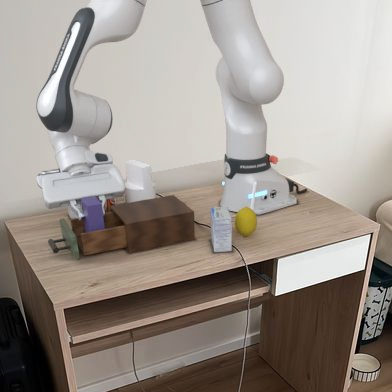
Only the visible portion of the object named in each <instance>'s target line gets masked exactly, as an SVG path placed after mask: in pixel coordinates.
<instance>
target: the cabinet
mask: <svg viewBox="0 0 392 392" xmlns="http://www.w3.org/2000/svg"><path fill="white" fill-rule="evenodd" d="M109 212H114V214H115V215H116V216H117V217H118V218H119V219H120V220H121V221H122V222H123V223H124V225H125V226H126V235H127V244H128V247H124V249H125V250H126V251H127V253H129V254H133V253H138V252H142V251H143V252H144V251H148V250H153V249H157V248H163V247H168V246H171V245H177V244H178V245H179V244H182V243H187V242H192V241H195V240H196V231H195V230H196V229H195V227H196V226H195V211H194V210H193V209H192V208H190V206H188V205H187V204H186V203H184V202H183V201H182V200H181V199H179V197H177V196H175V195H174V194H171V195H165V196H160V197H156V198H153V199H147V200H141V201H136V202H130V203H126V202H124V203H119V204H115V205H112V206H110V210H109Z"/></svg>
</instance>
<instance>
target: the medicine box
mask: <svg viewBox="0 0 392 392" xmlns="http://www.w3.org/2000/svg"><path fill="white" fill-rule="evenodd" d="M209 209H210V210H209V213H210V214H209V215H210V240H211V244H212V248H213V252H214V253H225V252H226V253H227V252H232V251H233V230H232V229H233V228H232V227H233V226H232V225H233V223H232V222H233V220H232V216H231V213H230V211H229V210H228V207H221V206H214V207H210V208H209Z"/></svg>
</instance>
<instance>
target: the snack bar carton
mask: <svg viewBox="0 0 392 392" xmlns="http://www.w3.org/2000/svg"><path fill="white" fill-rule="evenodd" d="M81 205H82V211H84V214H85V220H84V225H85V232H91V231H96V230H102V229H105V226H104V218H103V210H102V204H101V202H100V201H99V200H98V199H97V198H96V197H95V196H93V197H87V198H81Z"/></svg>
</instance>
